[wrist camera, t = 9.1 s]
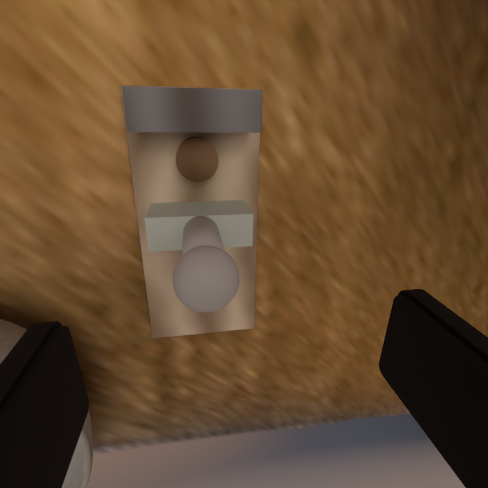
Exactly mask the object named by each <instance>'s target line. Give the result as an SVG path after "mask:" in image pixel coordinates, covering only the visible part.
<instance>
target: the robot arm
mask: <svg viewBox="0 0 488 488" xmlns="http://www.w3.org/2000/svg"><path fill="white" fill-rule="evenodd" d="M379 368H380V371H381V373H382V375H383V377H384V378H385V379H386V381H387V382H388V383H389V385H390V386H391V387H392V389H393V390H394V391H395V393H396V394H397V396H398V397H399V398H400V400H401V401H402V402H403V404H404V405H405V406H406V408H407V409H408V410H409V412H410V413H411V414H412V416H413V417H414V418H415V420H416V421H417V422H418V424H419V425H420V427H421V428H422V429H423V430H424V432H425V433H426V435H427V436H428V437H429V439H430V440H431V441H432V443H433V444H434V445H435V447H436V448H437V450H438V451H439V452H440V454H441V455H442V456H443V458H444V459H445V460H446V462H447V463H448V464H449V466H450V467H451V468H452V470H453V471H454V472H455V474H456V475H457V477H458V478H459V479H460V480H461V481H462V483H463V485H464V486H465V487H466V488H488V337H486V336H485V335H484V334H482V333H481V332H479V331H478V330H477V329H475V328H474V327H473V326H471V325H470V324H469V323H467V322H466V321H465V320H463V319H462V318H461V317H459V316H458V315H457V314H455V313H454V312H453V311H451V310H450V309H449V308H447V307H446V306H444V305H443V304H442V303H440V302H439V301H438V300H436V299H435V298H434V297H432V296H431V295H430V294H428V293H427V292H426V291H424V290H422V289H413V290H403V291H400V293H399V294H398V296H396V297H395V298H394V301H393V305H392V309H391V314H390V318H389V322H388V327H387V331H386V335H385V340H384V344H383V348H382V353H381V357H380V361H379ZM88 409H89V400H88V396H87V393H86V389H85V385H84V382H83V378H82V374H81V371H80V367H79V363H78V360H77V356H76V352H75V349H74V345H73V342H72V338H71V334H70V331H69V328H68V327H66V326H63V327H62V325H61V323H60V322H57V321H56V322H45V323H34V324H32V325H31V326H30V327H29V328H28V329H27V330H26V332H25V333H24V334H23V335H22V337H21V338H20V339H19V341H18V342H17V343H16V345H15V346H14V347H13V348H12V350H11V351H10V352H9V354H8V355H7V356H6V357H5V359H4V360H3V361H2V363H1V364H0V488H62V485H63V483H64V480H65V477H66V474H67V471H68V468H69V466H70V463H71V460H72V457H73V454H74V451H75V448H76V446H77V443H78V440H79V437H80V434H81V431H82V428H83V426H84V423H85V420H86V417H87V414H88Z"/></svg>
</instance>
